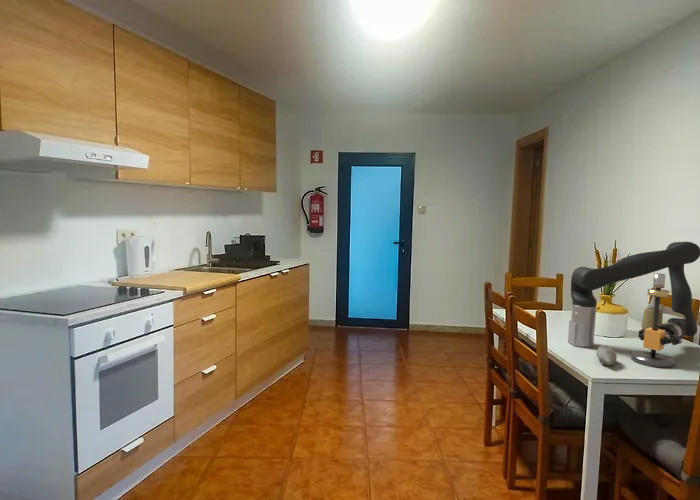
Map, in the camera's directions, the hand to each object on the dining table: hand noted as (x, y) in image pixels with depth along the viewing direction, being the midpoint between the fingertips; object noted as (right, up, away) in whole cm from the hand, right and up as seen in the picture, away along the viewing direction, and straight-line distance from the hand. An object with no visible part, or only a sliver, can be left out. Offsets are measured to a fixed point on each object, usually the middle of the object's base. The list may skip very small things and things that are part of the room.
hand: (652, 339), depth 175 cm
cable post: (+2, -9, +2) cm, 9 cm away
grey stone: (-18, -9, 0) cm, 20 cm away
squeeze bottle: (+26, -6, +41) cm, 49 cm away
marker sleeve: (+2, -3, +2) cm, 4 cm away
